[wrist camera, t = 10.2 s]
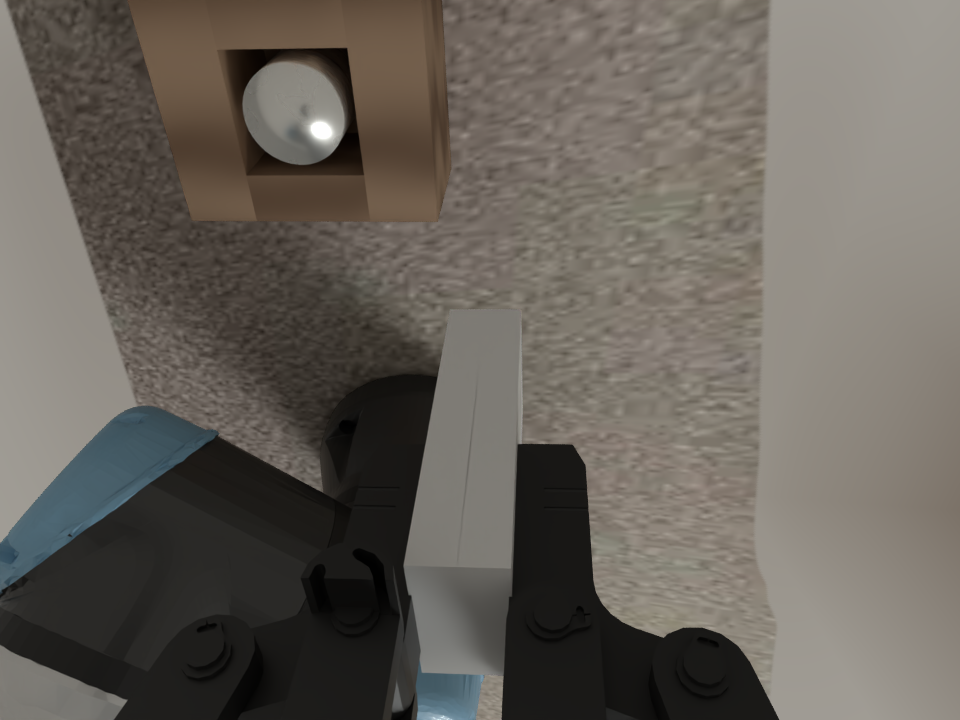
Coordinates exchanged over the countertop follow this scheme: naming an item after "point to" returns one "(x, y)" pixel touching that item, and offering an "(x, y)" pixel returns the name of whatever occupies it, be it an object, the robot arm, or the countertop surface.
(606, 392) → the countertop surface
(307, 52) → the grey rounded piece
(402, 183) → the brown wooden block
